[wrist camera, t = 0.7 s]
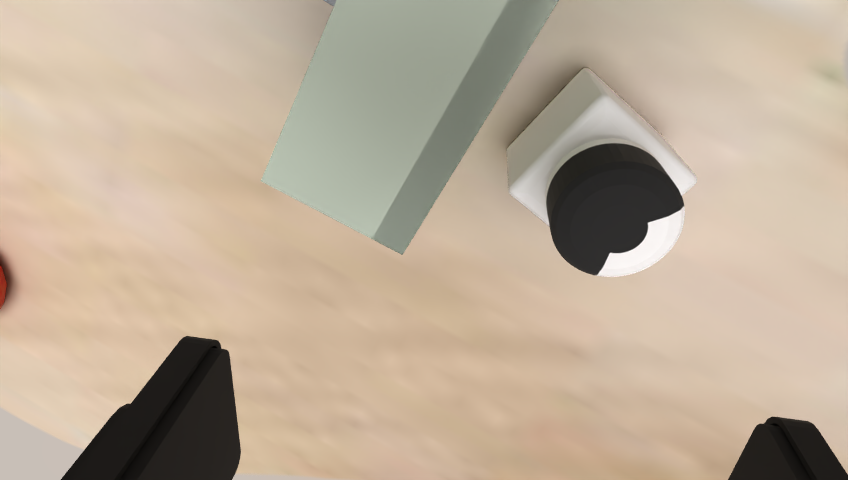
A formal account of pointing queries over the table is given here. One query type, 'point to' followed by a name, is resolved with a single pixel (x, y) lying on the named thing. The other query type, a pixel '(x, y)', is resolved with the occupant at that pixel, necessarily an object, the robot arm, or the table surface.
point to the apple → (2, 287)
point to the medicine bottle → (600, 180)
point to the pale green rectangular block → (397, 106)
